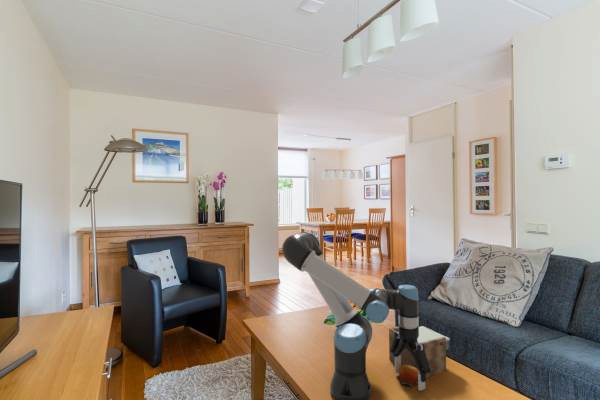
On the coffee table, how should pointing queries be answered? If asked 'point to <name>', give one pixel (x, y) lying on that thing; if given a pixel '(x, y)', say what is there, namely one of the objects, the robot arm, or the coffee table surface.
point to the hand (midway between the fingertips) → (409, 380)
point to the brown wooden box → (432, 349)
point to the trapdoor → (430, 336)
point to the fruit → (408, 375)
